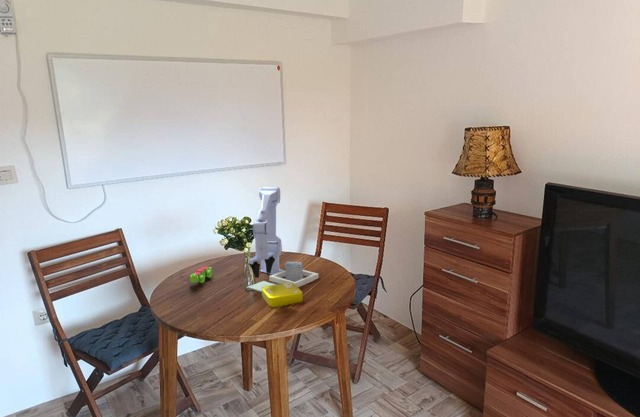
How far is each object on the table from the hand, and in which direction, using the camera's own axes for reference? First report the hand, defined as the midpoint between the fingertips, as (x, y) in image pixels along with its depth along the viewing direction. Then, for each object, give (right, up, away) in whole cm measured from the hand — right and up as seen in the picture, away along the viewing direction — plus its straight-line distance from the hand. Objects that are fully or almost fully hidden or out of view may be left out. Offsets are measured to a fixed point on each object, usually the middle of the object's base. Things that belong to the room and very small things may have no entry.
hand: (262, 275), depth 202 cm
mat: (0, -6, +1) cm, 6 cm away
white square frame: (+14, -4, +10) cm, 18 cm away
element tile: (+10, -9, -13) cm, 18 cm away
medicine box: (+14, -4, +10) cm, 18 cm away
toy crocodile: (-32, -4, +12) cm, 35 cm away
